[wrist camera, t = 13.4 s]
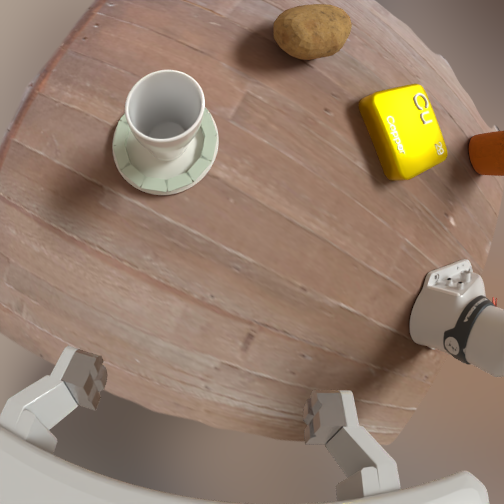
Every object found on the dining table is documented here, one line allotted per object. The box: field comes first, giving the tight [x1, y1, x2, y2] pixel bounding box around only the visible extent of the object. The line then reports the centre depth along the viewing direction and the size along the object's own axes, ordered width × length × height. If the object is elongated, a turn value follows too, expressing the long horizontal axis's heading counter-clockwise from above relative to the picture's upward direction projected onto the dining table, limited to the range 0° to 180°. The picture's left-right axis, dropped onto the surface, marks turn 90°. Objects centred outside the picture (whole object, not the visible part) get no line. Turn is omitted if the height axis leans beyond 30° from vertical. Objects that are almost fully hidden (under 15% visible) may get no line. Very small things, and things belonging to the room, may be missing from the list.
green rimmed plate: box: [112, 108, 218, 195], centre depth 35 cm, size 14×14×2 cm
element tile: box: [359, 84, 447, 181], centre depth 43 cm, size 15×15×5 cm
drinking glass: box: [125, 70, 205, 161], centre depth 28 cm, size 7×7×15 cm
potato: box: [273, 4, 352, 60], centre depth 34 cm, size 10×14×8 cm
